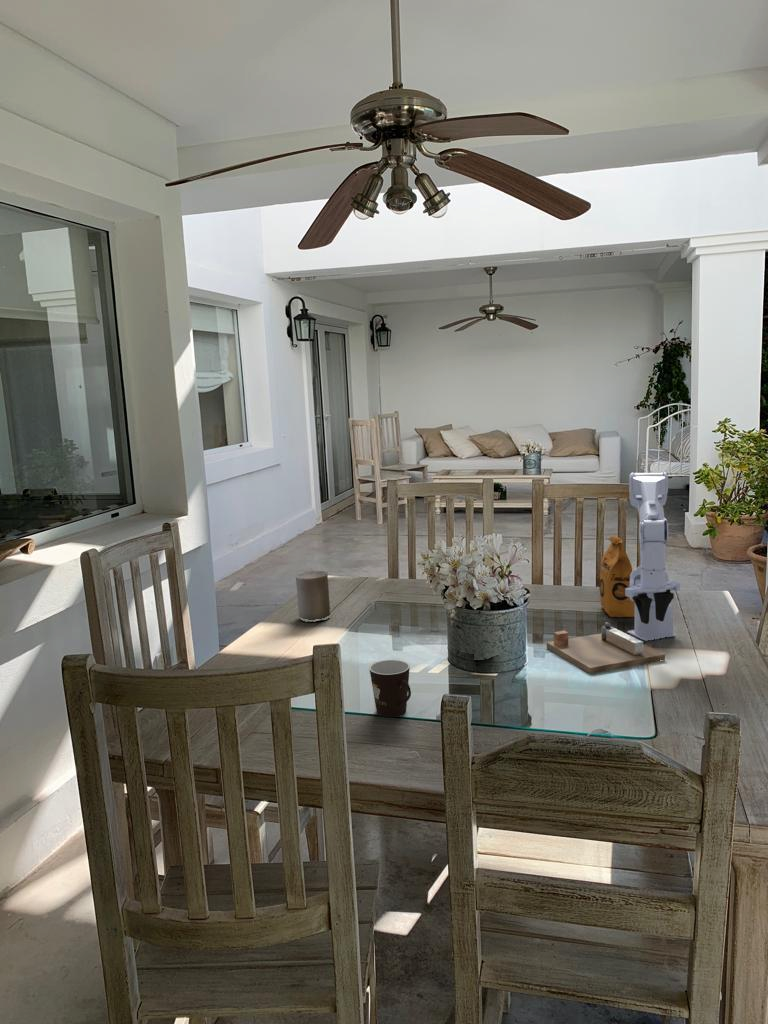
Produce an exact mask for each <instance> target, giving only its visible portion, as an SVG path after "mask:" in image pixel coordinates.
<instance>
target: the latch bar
mask: <svg viewBox="0 0 768 1024" xmlns="http://www.w3.org/2000/svg"><path fill="white" fill-rule="evenodd" d="M600 633H601V639H602V640H606V641H608V642H610V643H612V644H614V645H616V646H618V647H620V648H622V649H624V650H626V651H628V652H630V653H632V654H634V655H639V654H643V644H644V640H641V639H639V638H637V637H635V636H633V635H631V634H629V633H628V634H627V633H626V632H623V631H622V630H619V629H617V628H615V626H614V625H611V622H609V621H605V622H604V625H602V626H601V632H600Z"/></svg>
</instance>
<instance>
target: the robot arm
mask: <svg viewBox="0 0 768 1024" xmlns="http://www.w3.org/2000/svg"><path fill="white" fill-rule="evenodd" d="M668 475H669V474H668V473H667V472H666V471H664V472H631V473H630V474H629V475H628V490H629V492H628V494H629V502H630V505H631V506H632V507H634V508H636V510H637V513H638V516H639V524H638V525H639V526H638V537H639V548H640V550H639V554H640V558H639V562H640V563H639V564H640V565H639V566H637V567H636V568H635V569H632V572H631V574H630V587H629V588H625V596H627V597H630V600H631V601H634V603H635V616H634V629H631V630H630V629H629V630H627V631H626V632H627V633H628V635H630V636H632V637H635V638H637V639H639V640H641V641H643V642H644V641H645V642H649V641H653V640H654V639H655V640H660V638H661V639H665V637H667V638H672V637H675V636H676V634H675V633H674V610H673V606H672V605H671V602H672V600H674V598H675V594H674V592H672V591H680V590H681V582H678V581H676V580H672V581H669V575H668V573H667V571H666V549H667V548H666V547H667V545H666V544H667V543H668V539H669V523H668V519H667V518H666V517H665V512H664V506H665V505H666V501H667V500H668V493H669V476H668ZM627 633H626V634H627ZM648 640H649V641H648ZM655 640H654V641H655Z"/></svg>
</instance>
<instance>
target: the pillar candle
mask: <svg viewBox="0 0 768 1024" xmlns="http://www.w3.org/2000/svg"><path fill="white" fill-rule="evenodd" d="M328 575H329V574H328V572H326V571H323V570H308V571H302V572H299V573H297V574H296V575H295V582H296V583H295V584H296V594H297V595H296V597H297V607H298V609H297V611H298V618H299V617H301V618H303V619H308V620H315V619H322V618H325V617H327V616H329V615H331V605H330V604H331V603H330V602H331V601H330V591H329V589H330V588H329V578H328V577H329V576H328Z"/></svg>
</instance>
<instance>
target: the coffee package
mask: <svg viewBox="0 0 768 1024" xmlns="http://www.w3.org/2000/svg"><path fill="white" fill-rule="evenodd" d="M608 540H609V542H611V543H610V545H609V546H608V548H607V549H606V550H605V553H604V554H603V556H602V558H601V560H600V572H599V586H598V587H599V591H598V592H599V598H600V606H601V607H602V609H603V610H604V611H605V613H606V614H607V616H609V617H610V618H635V603H634V601H631V600H630V597H627V596H625V588H629V587H630V574H631V572H632V571H633V566H632V563H631V560H630V558H629V555H628V553H627V552H626V550H625V547H624V545H623V539H622V538H620V537H618V536H616V535H614V534H613V535H611V536H609V538H608Z"/></svg>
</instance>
